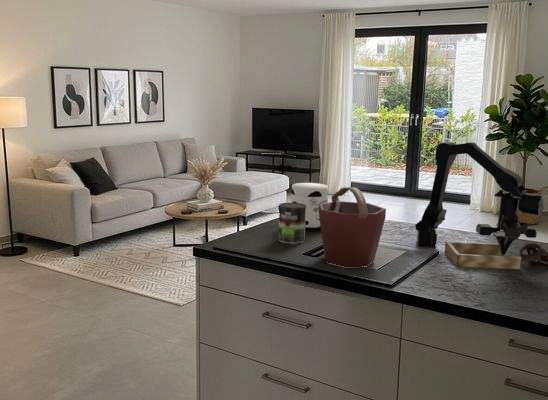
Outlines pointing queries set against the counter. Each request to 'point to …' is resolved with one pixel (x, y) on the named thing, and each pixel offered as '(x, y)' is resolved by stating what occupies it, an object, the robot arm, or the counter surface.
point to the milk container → (310, 201)
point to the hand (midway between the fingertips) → (503, 254)
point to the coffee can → (292, 222)
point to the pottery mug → (533, 253)
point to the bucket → (350, 229)
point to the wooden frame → (464, 258)
